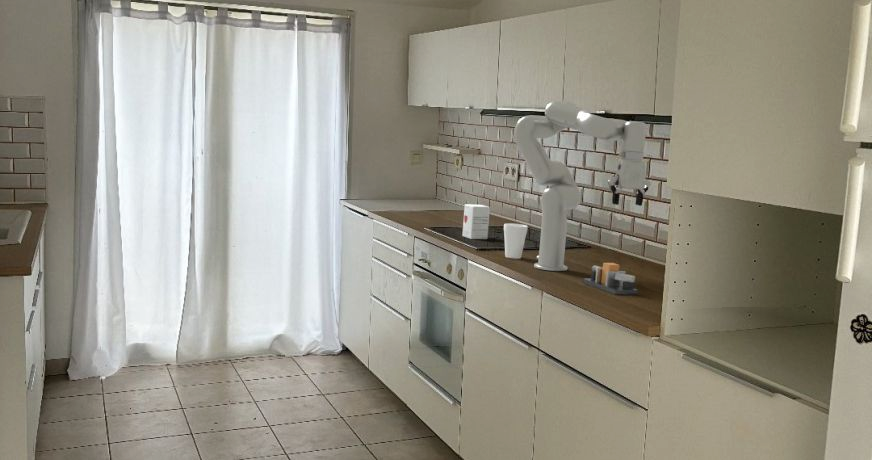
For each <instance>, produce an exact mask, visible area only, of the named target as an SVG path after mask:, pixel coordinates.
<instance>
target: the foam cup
mask: <svg viewBox="0 0 872 460" xmlns="http://www.w3.org/2000/svg"><path fill="white" fill-rule="evenodd" d="M527 233H528V225H526V224H519V223H504V224H503V234H504V256H505V257H506V258H510V259H521V258H522V255H523V251H524V245H525V242H526V237H527V236H526V235H527Z"/></svg>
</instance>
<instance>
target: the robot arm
mask: <svg viewBox="0 0 872 460" xmlns="http://www.w3.org/2000/svg"><path fill="white" fill-rule="evenodd" d="M566 128H568V129H572V130H575V131H578V132H580V133H583V135H584V134H585V135H587V136H590V137H594V138H596V139H599V140H603V141H620V142H621V141H622V147H621V152H619V153H618V156H619V157H620V159H619V161H618V164H617V167H616V172H615V176H613V177H611V178H609V179H607V185H608V187H609V188H608V189H610V191H611V193H612V198H611V202H612V205H614V206H615V205H616V206H619V204H620V191H621V190H623V189H624V190H625V189H627V190H636V192H637V193H636V196H635V206H641V207H642V206H643V200H644V196H645V194H646V192H647V191H649V188H650V186H651V184H652V182H650V180H648V179H646V175H647V173H646V171H647V170H646V169H647V168H646V162H645V161H644V152H645V142H646V134H647V125H646V123H645V122H644V121H632V120H629V121H627V120H624V119H618V118H607V117H603V116H599V115H596V114H592V113H590V110H589V109H588V108H586V107H582V106H578V105H576V104H574V103H573V102H571V101H565V100H553V101H551V102H549V103H547V105H546V107H545V109H544V116H543V115H533V114H532V115H525V116H523V117H521V118H520V119H519V120H518V121H517V122H516V125H515V127H514V132H513V133H514V140H515V141H514V142H515V144H516V147H517V148H518V150H519V152H520V153H521V155H522V157H523V158H524V161H525V163H526V165H527V167H528V169H529V172H530V173H531V175H532V178H533V180H534V181H535V183H537V184H538V185H539V186H544V187H545V186H547V187H546V188H545V189H544V190H543V192H542V193H541V199H540V200H541V201H540V202H541V205H540V206H541V227H540V228H541V230H540V239H539V240H540V242H539V251H538V255H537V256H536V259H537V260H538V262H535V263H534V264H533V267H534V268H535V269H539V270H542V271H543V270H544V271H548V272H549V271H551V272H553V271H554V272H562V271H568V266H567V265H565V264H564V262H565V251H566V242H567V230H568V228H567V227H568V218H567V214H566V211H571V210H573V209H576V208H578V206H579V205H580V204H581V201H582V195H581V192H580V189H579V187H578V184H577V183H576V180H575V179H574V177H573V175H572V173H571V171H570V169H569V168H568V166H567V165H566V164H564V163H563V161H558V160H552V159H551V158H550V157H549V156H548V153H547V152H546V149H545V148H544V146H543V145H542V143H540V142H539V141H538V139H549V138H551V137H554V136H555V135H557V134H559V133H560V132H562V131H563V130H565V129H566Z"/></svg>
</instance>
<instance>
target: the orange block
mask: <svg viewBox="0 0 872 460" xmlns="http://www.w3.org/2000/svg"><path fill="white" fill-rule="evenodd" d="M602 268H603V269H602V280H601V283H603V284H606V275H607V271H620V264H617V263H615V262H602Z"/></svg>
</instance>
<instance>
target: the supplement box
mask: <svg viewBox="0 0 872 460" xmlns="http://www.w3.org/2000/svg"><path fill="white" fill-rule="evenodd" d="M490 211H491V206H487V205H484V204H473V203H472V204H471V203H469V204H468V203H467V204H466V203H465V204H464V210H463V224H462V236H461V237H464V238H467V239H470V240H487V239H488V236H489V225H490V224H489V223H490V214H491V213H490Z"/></svg>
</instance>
